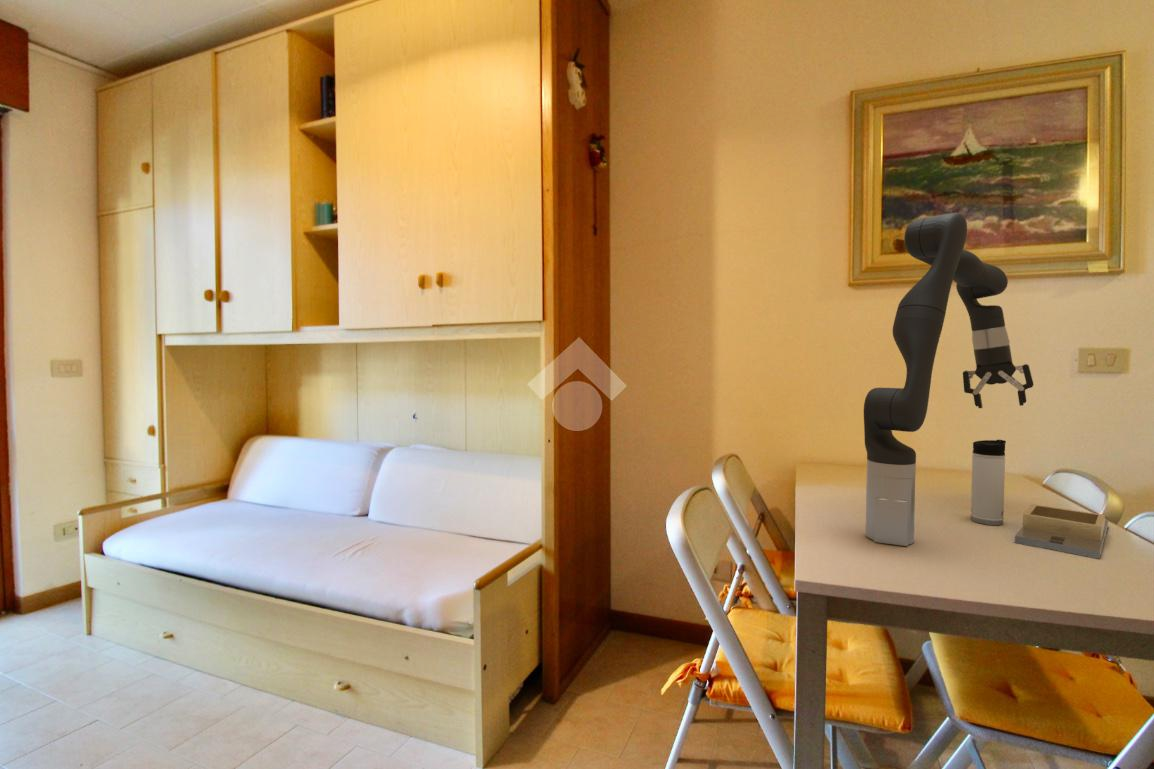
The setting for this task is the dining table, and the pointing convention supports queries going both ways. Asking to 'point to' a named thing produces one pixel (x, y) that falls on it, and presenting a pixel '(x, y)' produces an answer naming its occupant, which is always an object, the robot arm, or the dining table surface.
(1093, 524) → the open tray on base
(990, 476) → the travel mug
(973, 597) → the dining table surface
